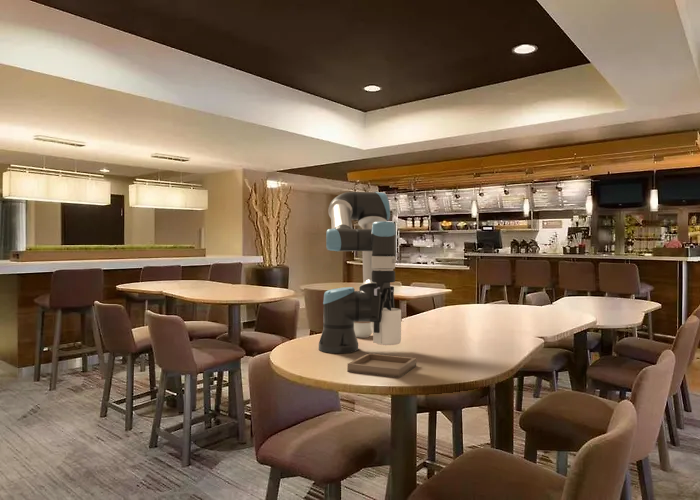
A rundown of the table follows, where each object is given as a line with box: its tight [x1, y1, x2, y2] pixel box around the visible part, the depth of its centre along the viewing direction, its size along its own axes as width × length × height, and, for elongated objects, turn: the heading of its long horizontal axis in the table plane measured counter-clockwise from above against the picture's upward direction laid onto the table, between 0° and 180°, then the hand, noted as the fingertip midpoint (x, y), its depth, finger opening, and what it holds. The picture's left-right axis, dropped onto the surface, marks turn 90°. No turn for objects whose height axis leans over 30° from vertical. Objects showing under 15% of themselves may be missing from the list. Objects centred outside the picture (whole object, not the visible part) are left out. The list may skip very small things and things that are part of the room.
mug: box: [371, 307, 402, 346], centre depth 161 cm, size 9×12×11 cm
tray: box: [346, 353, 417, 379], centre depth 160 cm, size 17×17×2 cm
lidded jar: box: [354, 322, 373, 339], centre depth 219 cm, size 11×11×9 cm
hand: (382, 340), depth 160 cm, fingers closed on mug, 9 cm apart
